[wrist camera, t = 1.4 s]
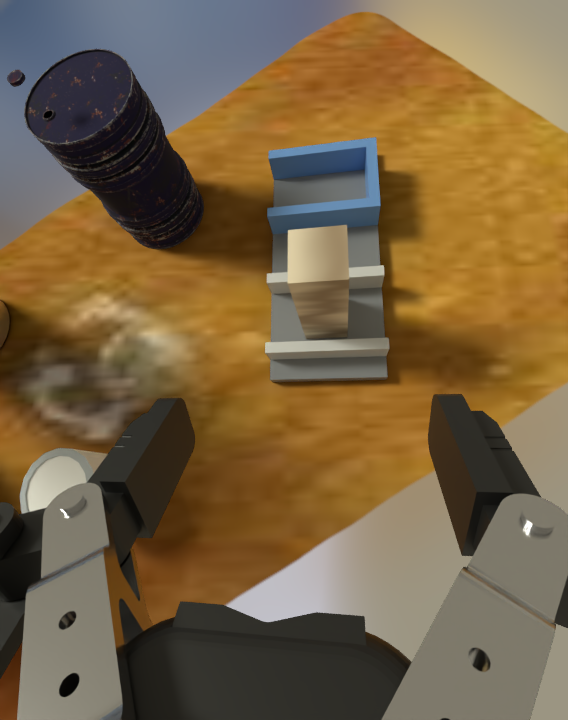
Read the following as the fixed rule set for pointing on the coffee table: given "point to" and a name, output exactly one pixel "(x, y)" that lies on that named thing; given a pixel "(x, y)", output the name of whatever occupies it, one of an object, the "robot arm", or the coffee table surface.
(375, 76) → the coffee table surface
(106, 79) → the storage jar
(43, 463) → the beige cylinder
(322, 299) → the peg
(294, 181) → the grey slotted base
